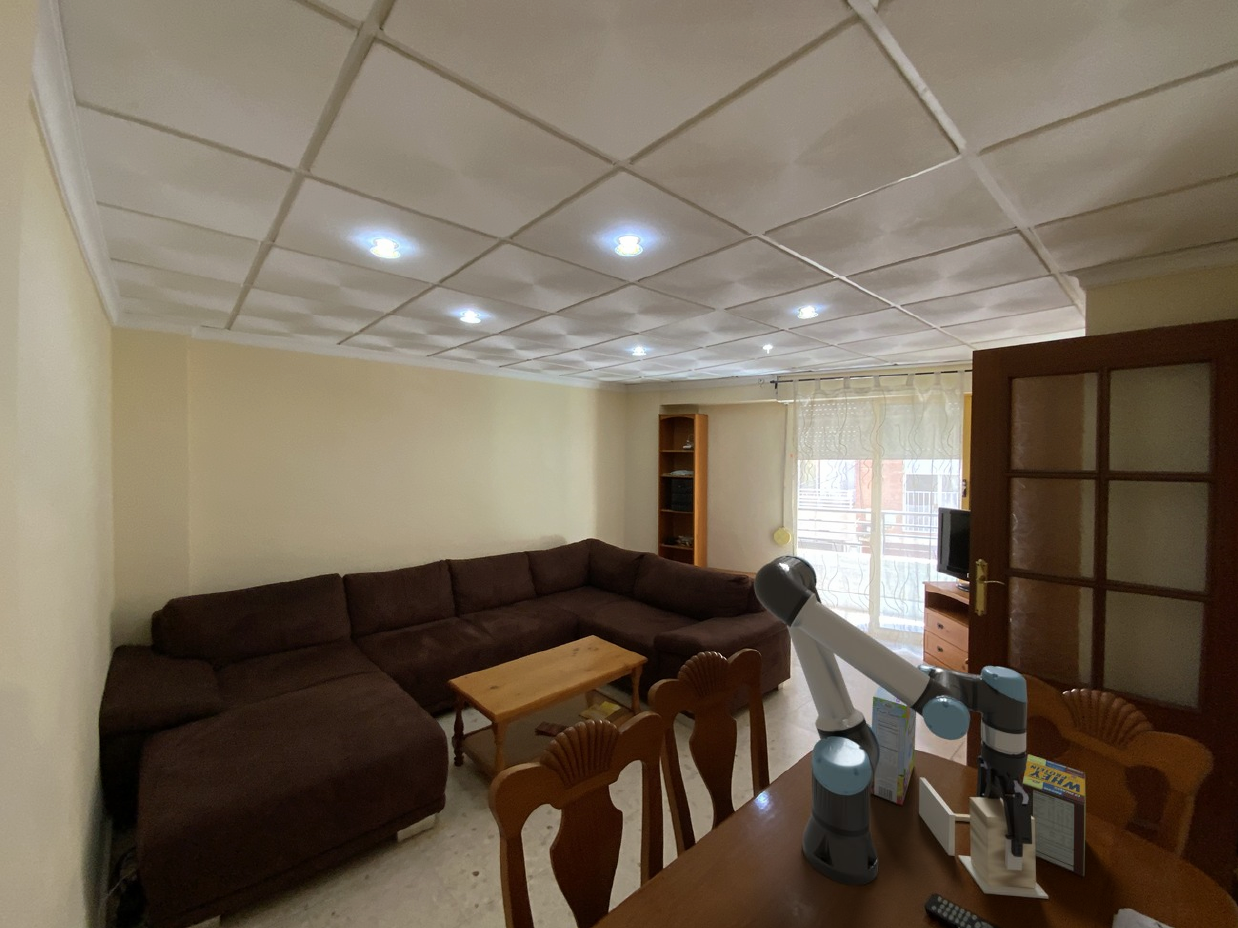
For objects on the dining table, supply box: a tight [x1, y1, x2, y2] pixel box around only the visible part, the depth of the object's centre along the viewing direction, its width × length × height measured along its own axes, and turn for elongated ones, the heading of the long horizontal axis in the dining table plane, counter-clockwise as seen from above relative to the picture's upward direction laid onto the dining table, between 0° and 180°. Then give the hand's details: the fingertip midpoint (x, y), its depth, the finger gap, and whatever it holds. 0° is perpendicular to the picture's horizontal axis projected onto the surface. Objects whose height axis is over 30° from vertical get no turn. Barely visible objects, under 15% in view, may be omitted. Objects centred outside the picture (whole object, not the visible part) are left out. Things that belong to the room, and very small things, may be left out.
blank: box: [969, 796, 1037, 888], centre depth 104 cm, size 9×6×14 cm, turn 84°
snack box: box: [870, 685, 917, 806], centre depth 136 cm, size 22×9×26 cm, turn 143°
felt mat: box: [957, 854, 1049, 900], centre depth 104 cm, size 12×9×1 cm
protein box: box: [1022, 754, 1087, 877], centre depth 113 cm, size 10×15×16 cm
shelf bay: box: [918, 777, 984, 857], centre depth 116 cm, size 15×13×9 cm
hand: (1002, 854), depth 104 cm, fingers closed on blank, 6 cm apart
